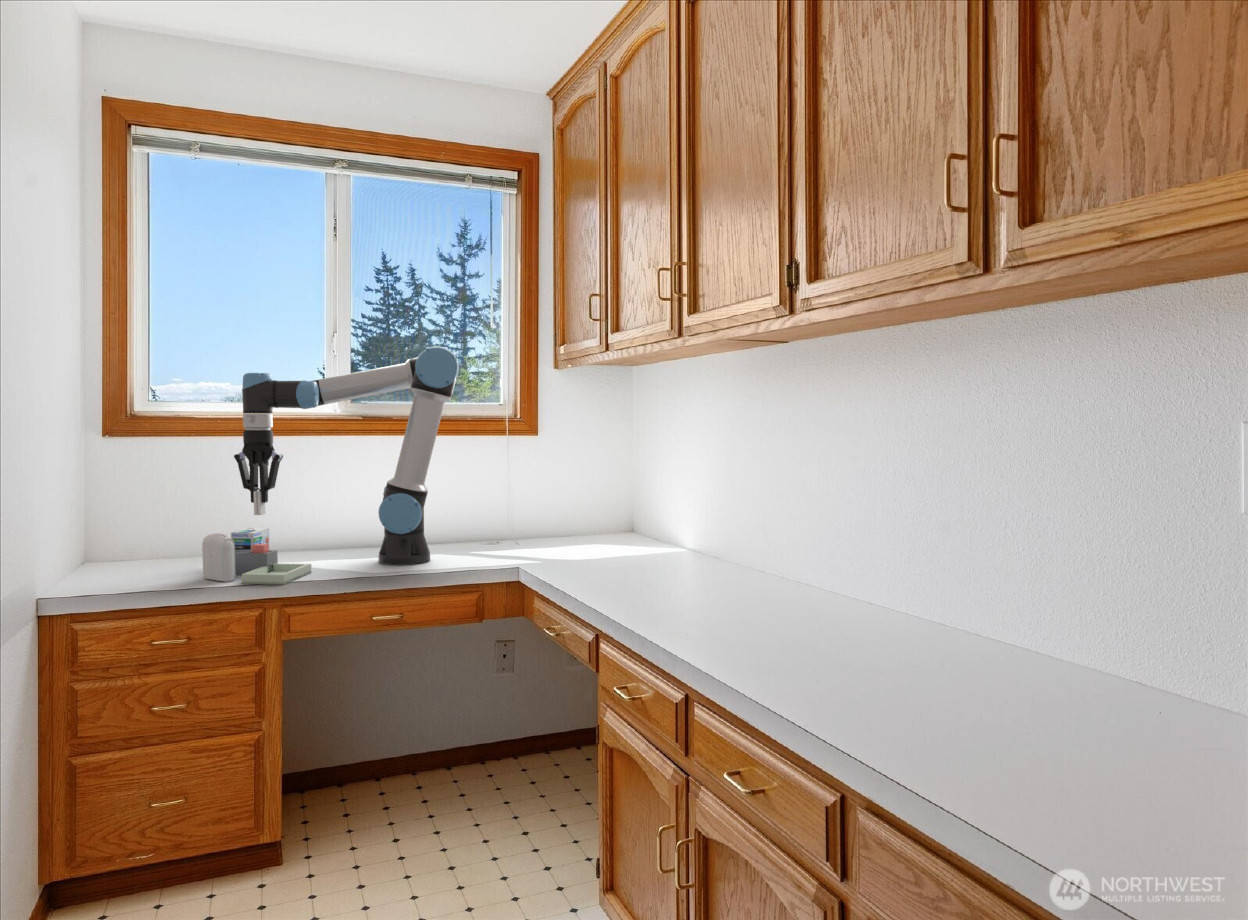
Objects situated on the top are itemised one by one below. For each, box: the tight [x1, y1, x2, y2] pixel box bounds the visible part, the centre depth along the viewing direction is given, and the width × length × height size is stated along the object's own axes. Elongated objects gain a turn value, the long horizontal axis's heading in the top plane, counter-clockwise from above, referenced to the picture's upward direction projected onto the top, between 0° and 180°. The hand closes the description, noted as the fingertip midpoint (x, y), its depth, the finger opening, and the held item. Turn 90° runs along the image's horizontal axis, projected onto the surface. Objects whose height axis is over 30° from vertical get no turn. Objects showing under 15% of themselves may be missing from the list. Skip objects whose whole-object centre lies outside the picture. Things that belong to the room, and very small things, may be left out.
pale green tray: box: [240, 563, 312, 586], centre depth 226 cm, size 11×16×2 cm
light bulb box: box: [230, 527, 270, 550], centre depth 242 cm, size 11×7×11 cm, turn 179°
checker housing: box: [235, 549, 278, 576], centre depth 233 cm, size 14×6×6 cm, turn 87°
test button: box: [252, 543, 270, 553], centre depth 232 cm, size 3×3×5 cm
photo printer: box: [201, 532, 237, 583], centre depth 223 cm, size 10×4×12 cm, turn 57°
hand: (259, 514), depth 232 cm, fingers closed
